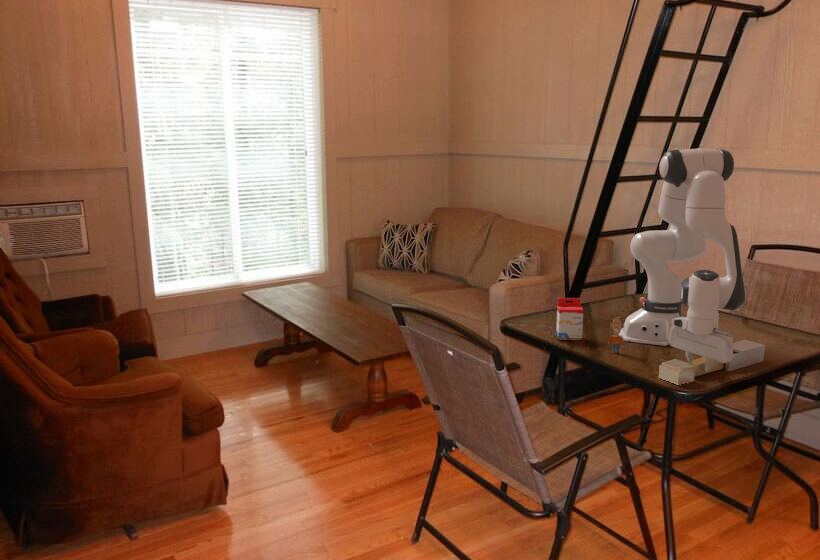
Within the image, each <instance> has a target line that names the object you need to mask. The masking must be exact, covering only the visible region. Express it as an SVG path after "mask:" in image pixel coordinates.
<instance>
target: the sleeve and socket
mask: <svg viewBox="0 0 820 560" xmlns="http://www.w3.org/2000/svg"><path fill="white" fill-rule="evenodd" d="M765 349H766V345H765V344H761V343H759V342H755V341H751V340H748V339H743V340H740V341H736V342H733V351H734V352H738V353H736V354H733V359H732V360H731V361H730V362H727V363H726V366H725V368H724V370H725V371H727V372H731V371H734V370H738V369H741V368H745V367H748V366H752V365H755V364H759V363H762V362H764V359H765ZM686 362H687V361H683V360H680V359H677V358H674V359H671V360H665V361H662V362H661V364H659V367H658V379H659V378H661V379H663V380H666V381H669V382H671V383H674V384H676V385H680V386H682V385H681V384H684V385H686V384H685V383H687V384H690V383H689V382H691V383H693V381H694V382H695V377H694V375H695V365H692V364H689V363H686ZM663 380H662V381H663ZM666 381H665V382H666ZM671 383H670V384H671ZM676 385H675V386H676Z"/></svg>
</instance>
